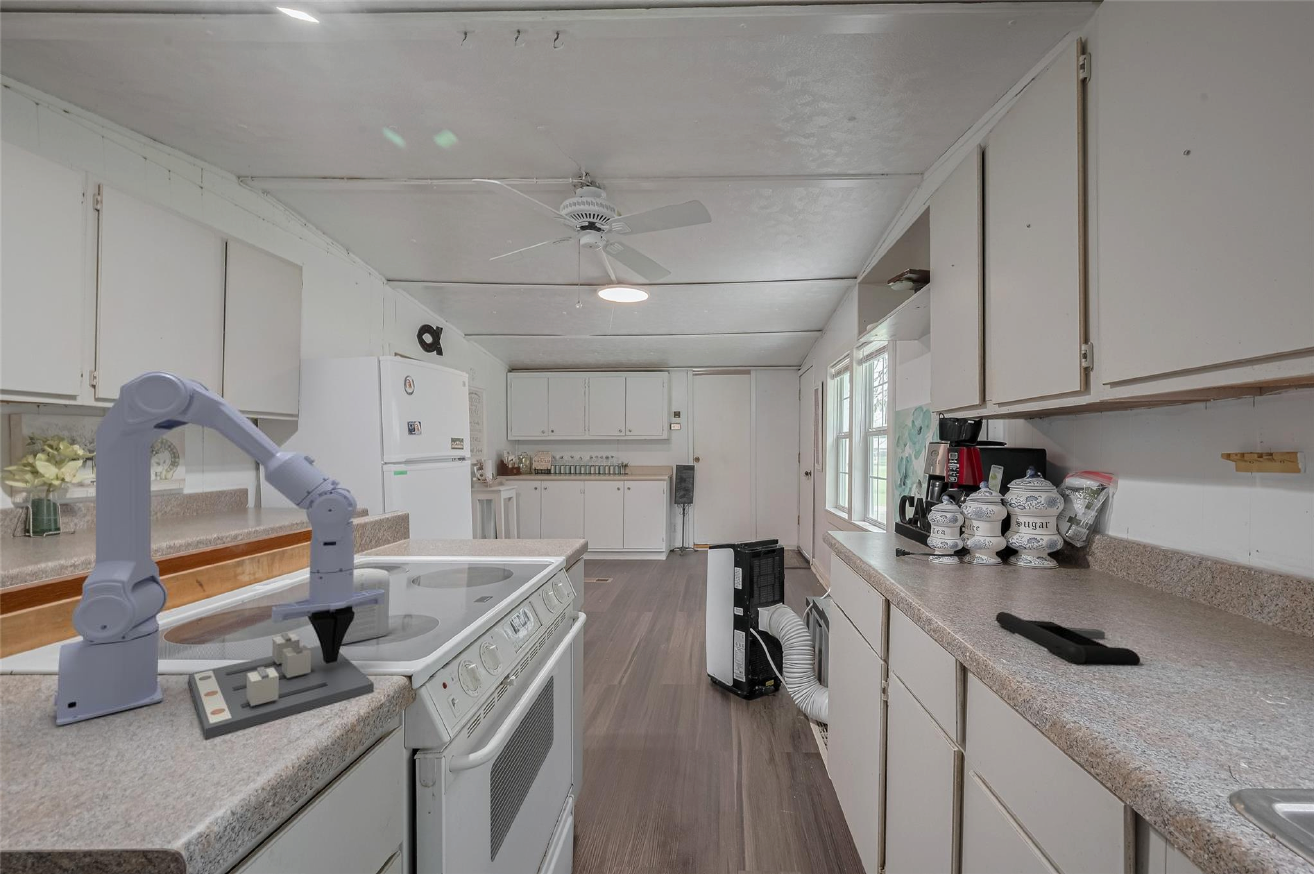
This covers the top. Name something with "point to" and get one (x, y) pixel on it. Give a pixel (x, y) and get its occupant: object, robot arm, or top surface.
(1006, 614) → the door handle
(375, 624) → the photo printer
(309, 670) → the middle tab
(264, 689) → the near tab
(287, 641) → the far tab
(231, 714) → the switch board
